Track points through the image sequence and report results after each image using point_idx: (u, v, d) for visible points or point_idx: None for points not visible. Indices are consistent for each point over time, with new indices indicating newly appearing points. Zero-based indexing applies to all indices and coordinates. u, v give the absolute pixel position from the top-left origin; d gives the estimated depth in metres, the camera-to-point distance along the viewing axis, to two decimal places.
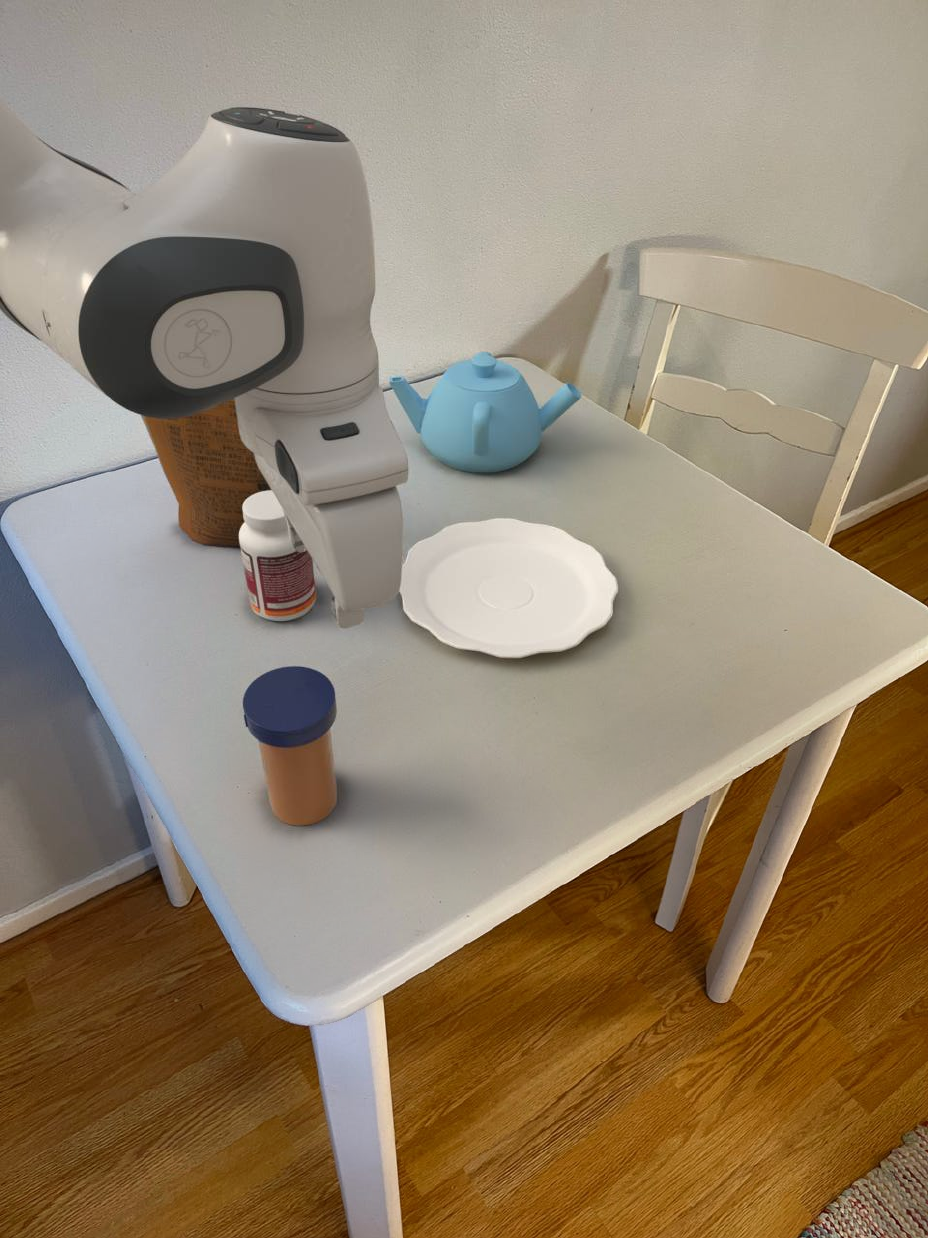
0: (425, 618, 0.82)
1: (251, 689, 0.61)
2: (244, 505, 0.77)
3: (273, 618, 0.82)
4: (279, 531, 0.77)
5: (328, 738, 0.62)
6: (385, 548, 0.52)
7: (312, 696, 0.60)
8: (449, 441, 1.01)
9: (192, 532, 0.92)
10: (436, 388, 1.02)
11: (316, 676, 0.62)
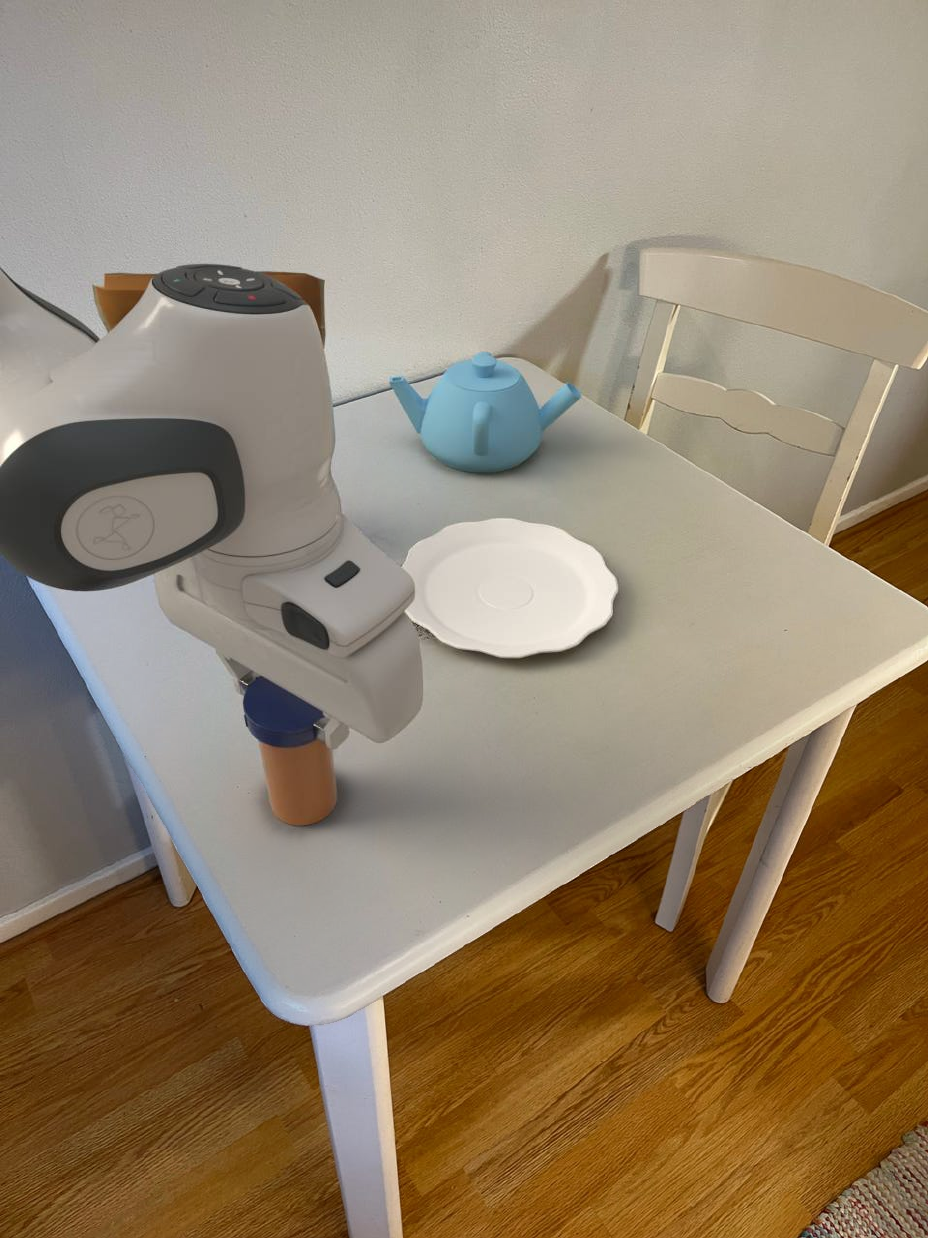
0: (425, 618, 0.82)
1: (251, 689, 0.61)
2: None
3: None
4: None
5: None
6: (411, 671, 0.52)
7: None
8: (449, 441, 1.01)
9: None
10: (436, 388, 1.02)
11: None
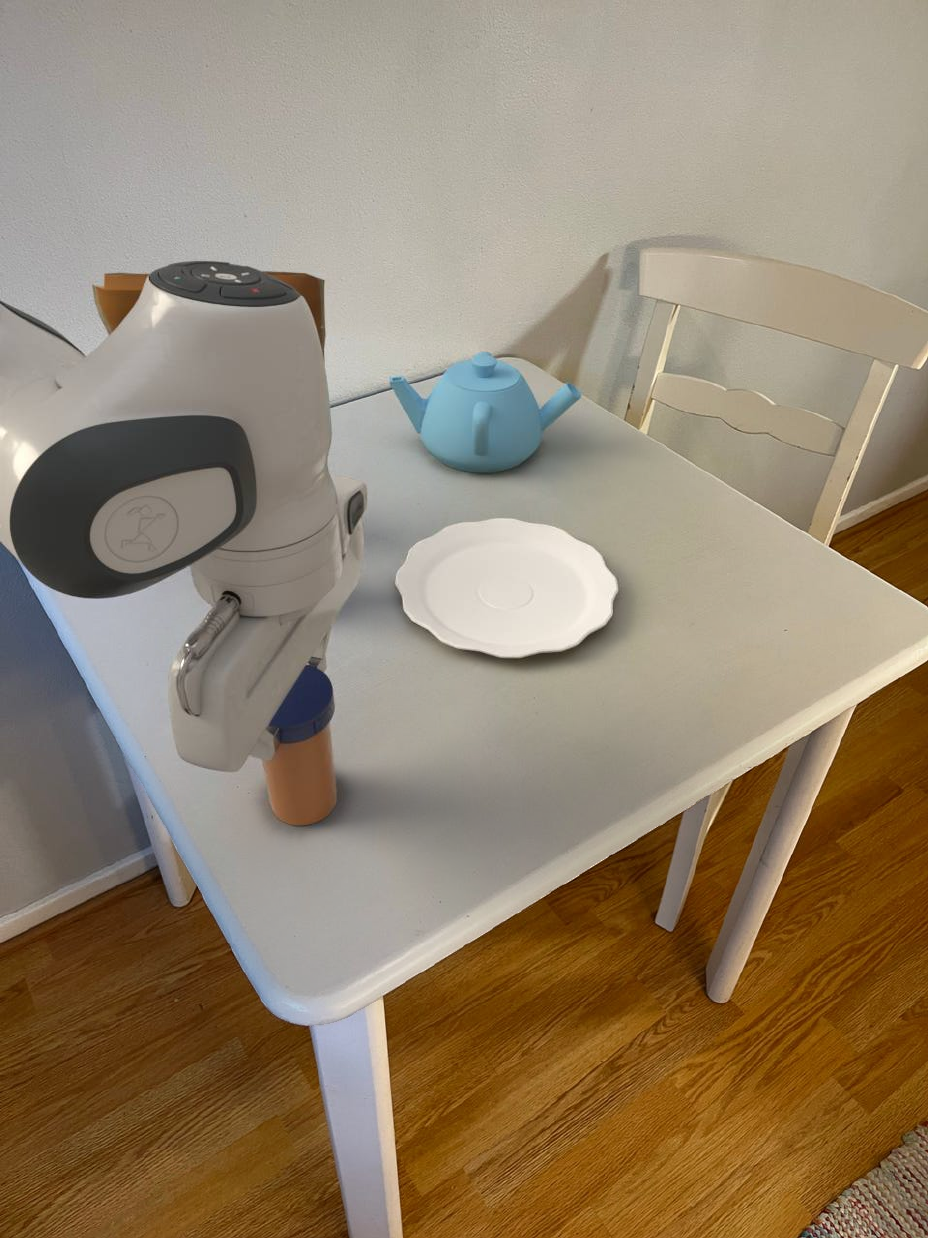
0: (425, 618, 0.82)
1: (283, 723, 0.58)
2: None
3: None
4: None
5: (328, 738, 0.62)
6: None
7: None
8: (449, 441, 1.01)
9: None
10: (436, 388, 1.02)
11: None
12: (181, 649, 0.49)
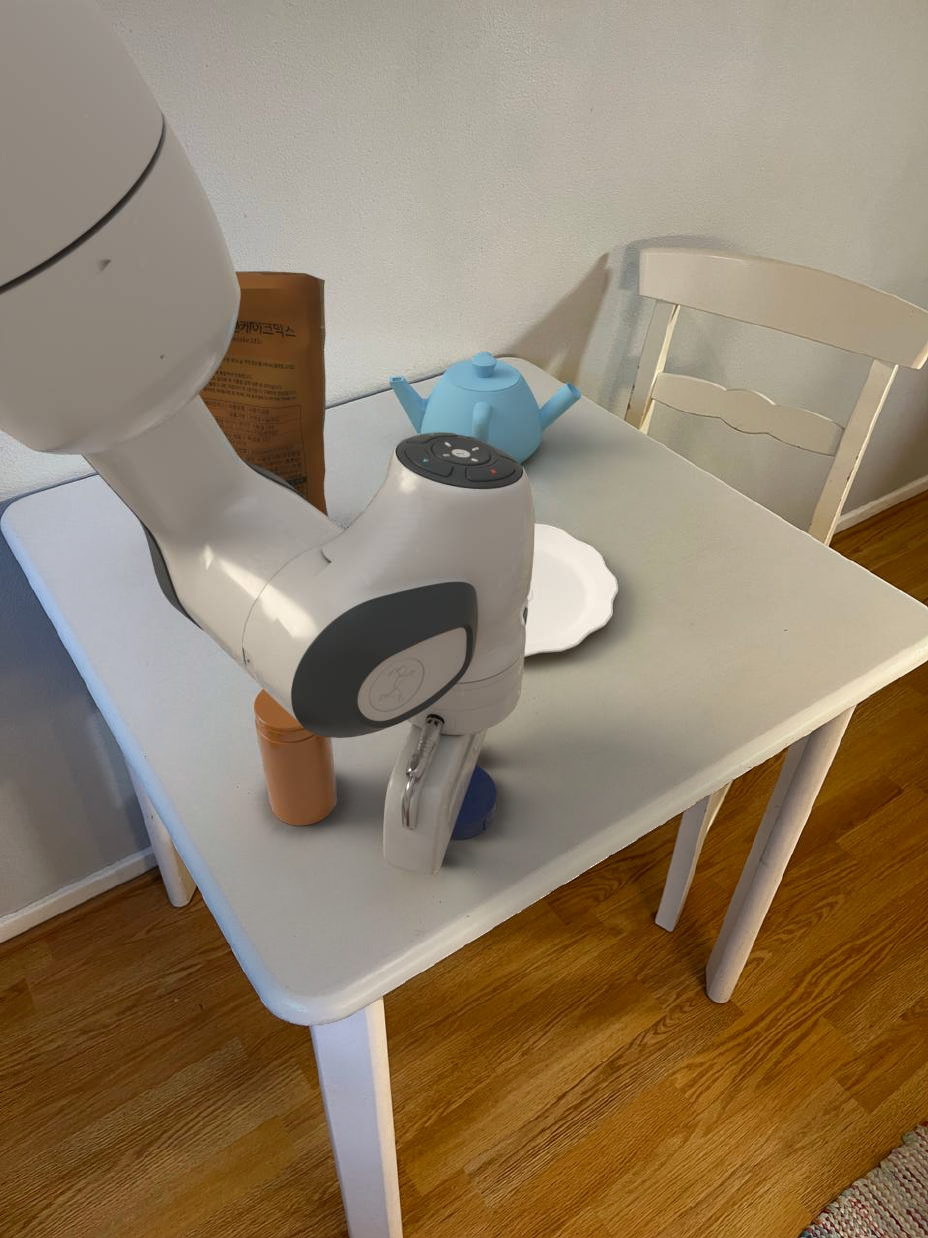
0: None
1: (458, 822, 0.64)
2: None
3: None
4: None
5: (328, 738, 0.62)
6: None
7: None
8: None
9: None
10: (436, 388, 1.02)
11: None
12: (396, 769, 0.54)
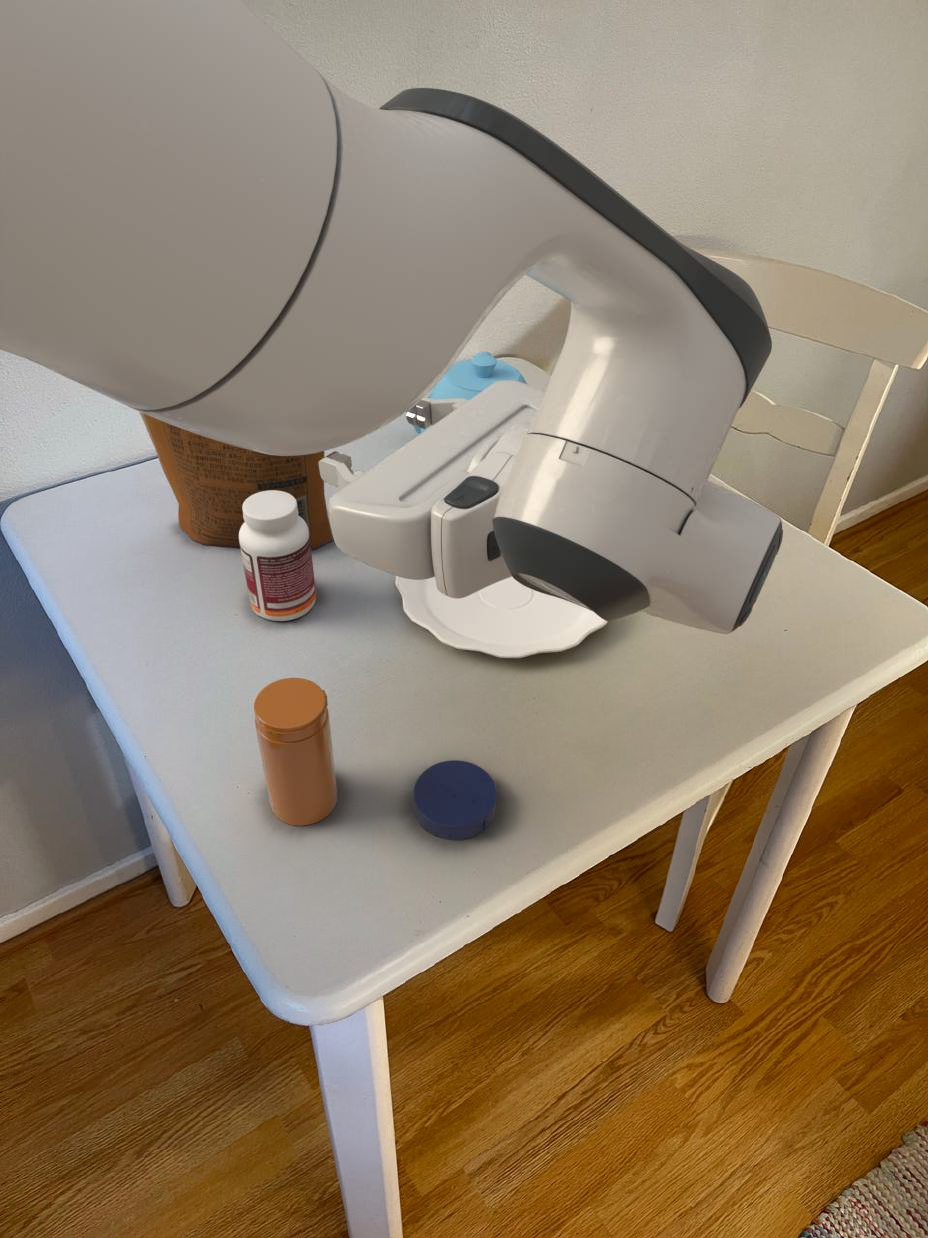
0: (425, 618, 0.82)
1: (458, 822, 0.64)
2: (244, 505, 0.77)
3: (273, 618, 0.82)
4: (279, 531, 0.77)
5: (328, 738, 0.62)
6: (380, 557, 0.56)
7: (446, 777, 0.67)
8: None
9: (192, 532, 0.92)
10: (436, 388, 1.02)
11: (422, 783, 0.67)
12: None
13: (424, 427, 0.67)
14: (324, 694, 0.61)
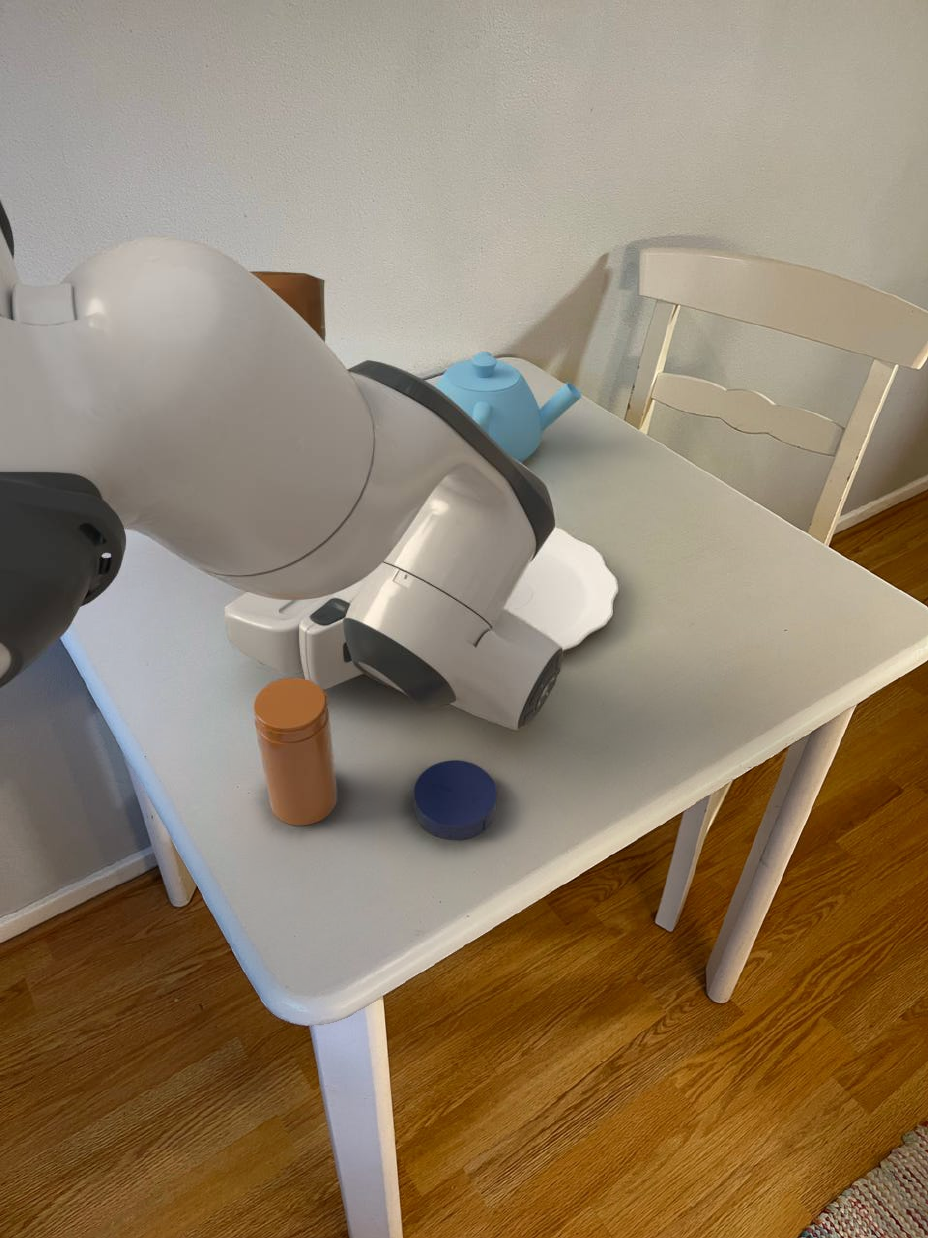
0: None
1: (458, 822, 0.64)
2: None
3: None
4: None
5: (328, 738, 0.62)
6: (262, 655, 0.72)
7: (446, 777, 0.67)
8: None
9: None
10: None
11: (422, 783, 0.67)
12: None
13: None
14: (324, 694, 0.61)
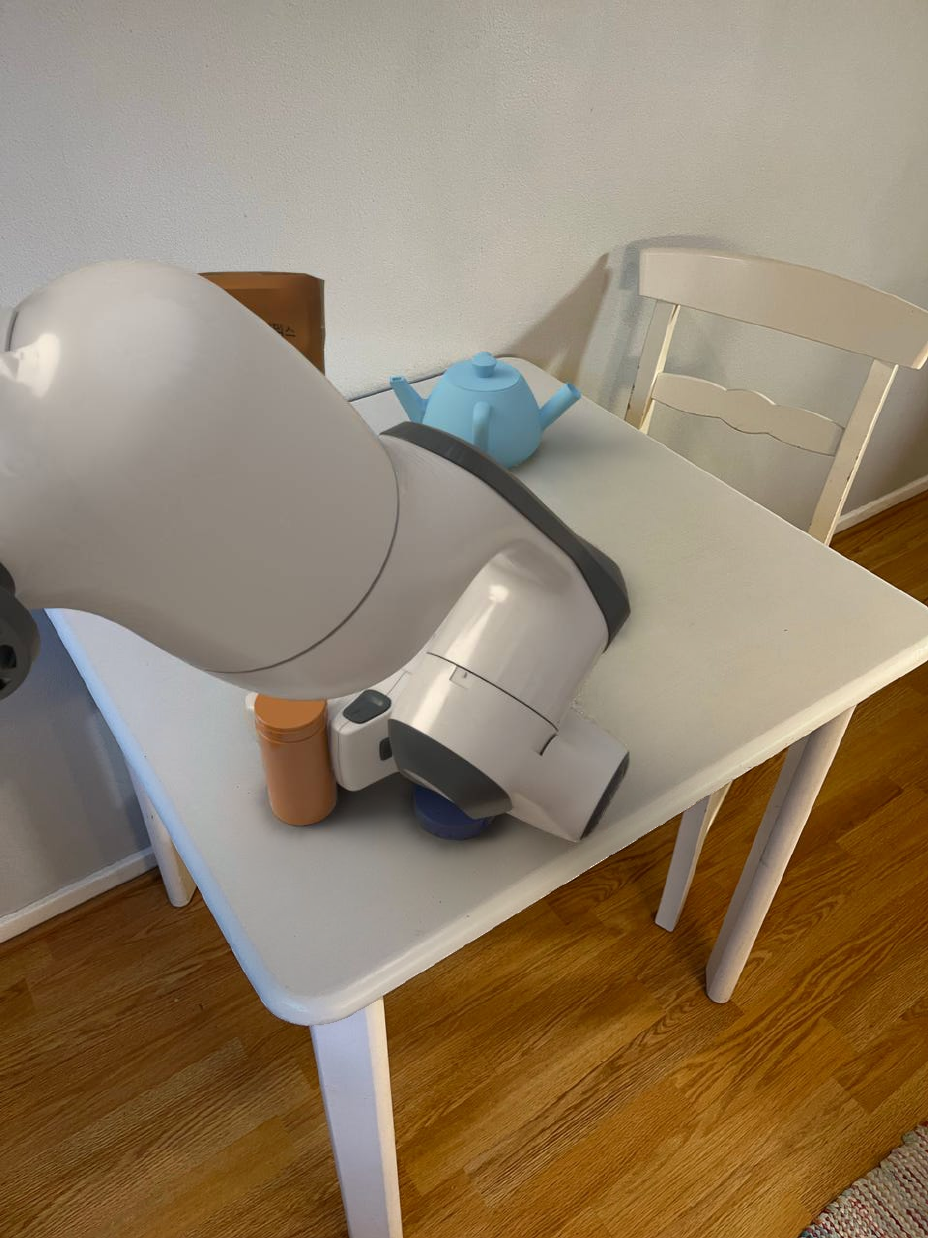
0: None
1: (458, 822, 0.64)
2: None
3: None
4: None
5: None
6: None
7: None
8: None
9: None
10: (436, 388, 1.02)
11: None
12: None
13: None
14: None
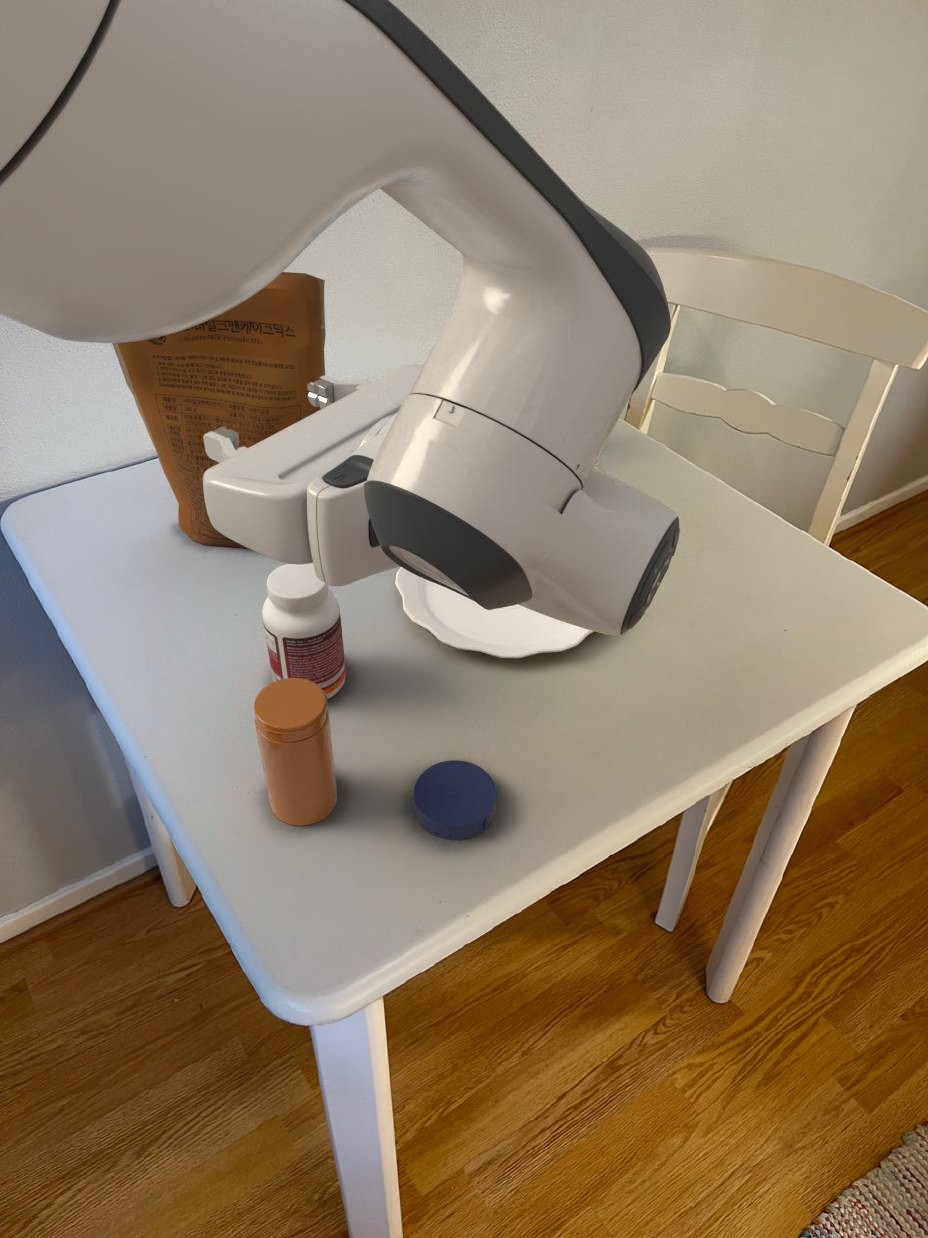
0: (425, 618, 0.82)
1: (458, 822, 0.64)
2: (269, 581, 0.70)
3: None
4: (308, 610, 0.69)
5: (328, 738, 0.62)
6: (255, 538, 0.52)
7: (446, 777, 0.67)
8: None
9: (192, 532, 0.92)
10: None
11: (422, 783, 0.67)
12: None
13: None
14: (324, 694, 0.61)
